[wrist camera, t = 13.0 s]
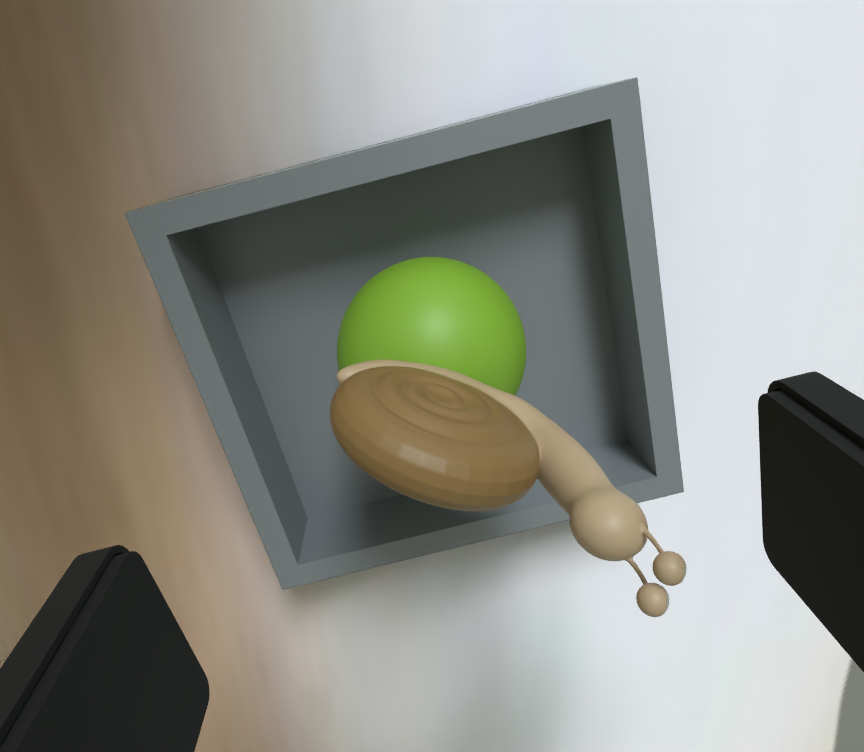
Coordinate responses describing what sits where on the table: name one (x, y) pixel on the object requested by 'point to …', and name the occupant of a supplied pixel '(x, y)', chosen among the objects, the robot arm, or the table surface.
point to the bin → (407, 239)
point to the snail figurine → (469, 412)
